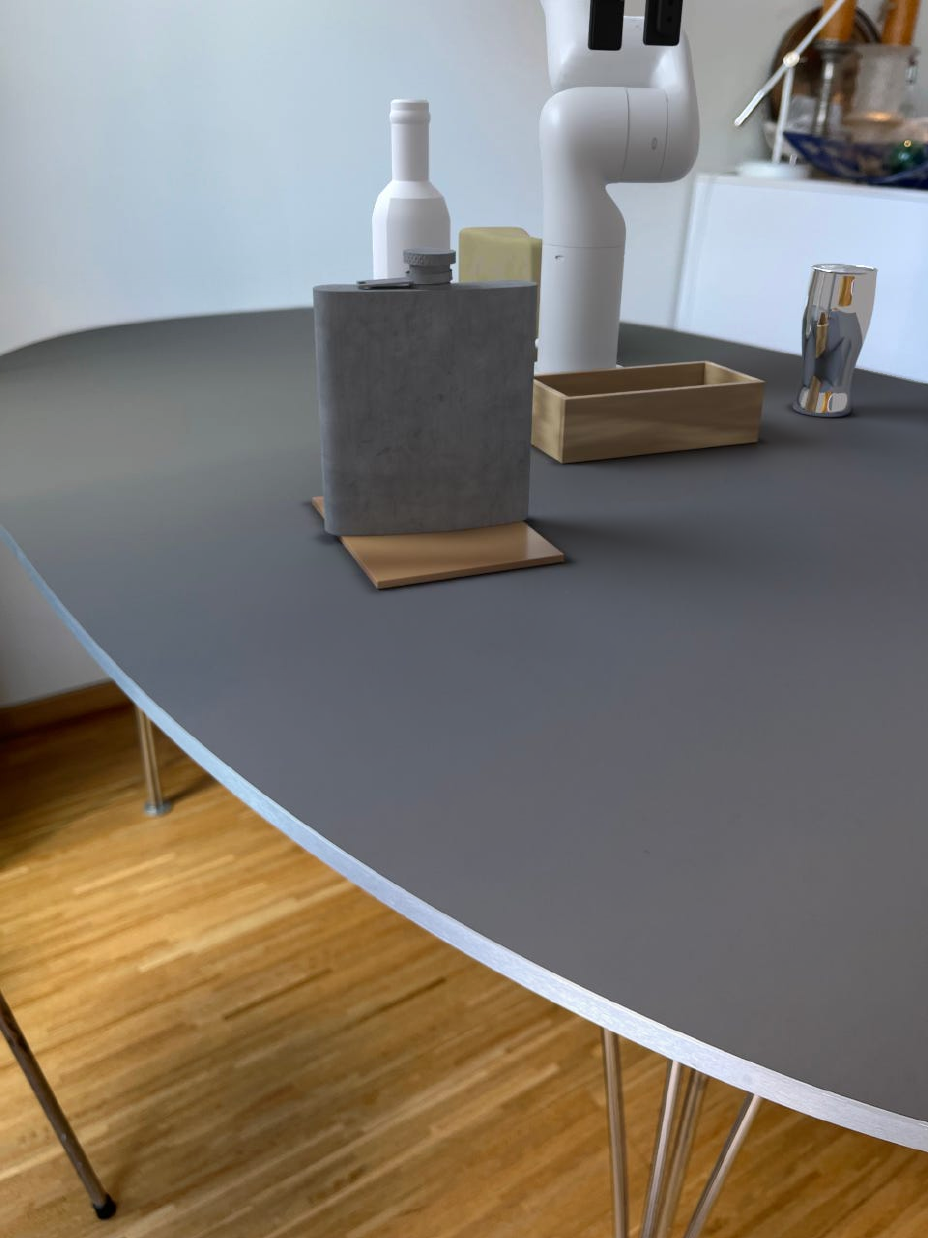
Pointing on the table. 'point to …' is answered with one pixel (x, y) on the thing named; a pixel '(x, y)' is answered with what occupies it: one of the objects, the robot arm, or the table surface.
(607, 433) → the box
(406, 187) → the bottle
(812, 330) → the beer glass
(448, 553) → the wooden mat
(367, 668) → the table surface
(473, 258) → the cheese
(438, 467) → the hip flask
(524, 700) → the table surface
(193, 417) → the table surface
